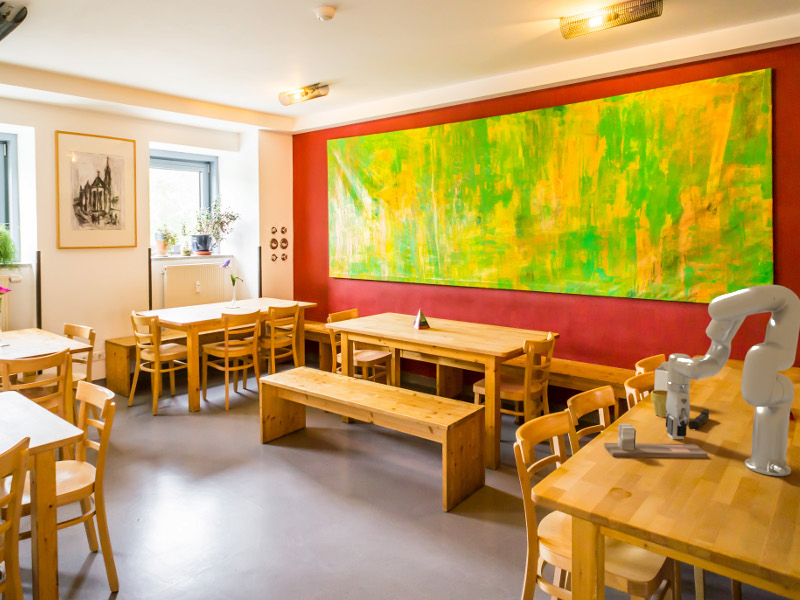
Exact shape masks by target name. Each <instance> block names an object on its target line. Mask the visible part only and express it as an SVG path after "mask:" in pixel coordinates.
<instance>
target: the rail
mask: <svg viewBox="0 0 800 600" xmlns="http://www.w3.org/2000/svg"><path fill="white" fill-rule="evenodd" d="M636 432H637V431H636V428H635V426H633V424H631V423H618V437H617V438H618V440H617V441H618V442H604V443H603V444H604V445H603V446H604V448H605V449H606V451H607V452H608V453H609V454H610V456H611V457H614V458H615V457H617V458H680V459H681V458H686V459H687V458H688V459H689V458H691V459H692V458H693V459H694V458H695V459H696V458H697V459H703V458H704V459H707V458H708V452H707V451H705V450H704V449H702V448H700V446H698V445H696V443H651V442H650V443H639V442H638V443H637V442H636V437H637V435H636V434H637V433H636Z"/></svg>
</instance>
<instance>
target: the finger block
mask: <svg viewBox="0 0 800 600" xmlns="http://www.w3.org/2000/svg"><path fill="white" fill-rule="evenodd" d="M680 421H681V422H682V420H680ZM677 425H678V421H677V419H676V418H675V417H673V416H672V415H669V417H668V422H667V427H666V433H667V436H668V437H669V436H670V437H671V438H672V439H671V438H670V437H669V438H670V439H671V440H673V439H683V440H684V437H685V436H677Z"/></svg>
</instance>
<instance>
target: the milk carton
mask: <svg viewBox="0 0 800 600" xmlns="http://www.w3.org/2000/svg"><path fill="white" fill-rule="evenodd" d="M668 362H669V360H668V361H663V362H661V364H660V365H659V366H658V367H657V368H655V370H654V371H655V372H654V386H653V387H654V388H653V389H654V390H667V380H668ZM667 391H668V390H667Z"/></svg>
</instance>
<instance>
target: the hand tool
mask: <svg viewBox="0 0 800 600" xmlns="http://www.w3.org/2000/svg"><path fill="white" fill-rule="evenodd" d="M709 419H710V410H709V409H707V408H706V409H703V410H701V411H700V414H698V416H696V417H694V418H693V419H692V420H689V421H688V424H687V427H688V428H689V430H692V429H695V430H694V431H698V430H699V429H700V428H701V427H702V425H704V424H705V423H708V422H707V421H709Z"/></svg>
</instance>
